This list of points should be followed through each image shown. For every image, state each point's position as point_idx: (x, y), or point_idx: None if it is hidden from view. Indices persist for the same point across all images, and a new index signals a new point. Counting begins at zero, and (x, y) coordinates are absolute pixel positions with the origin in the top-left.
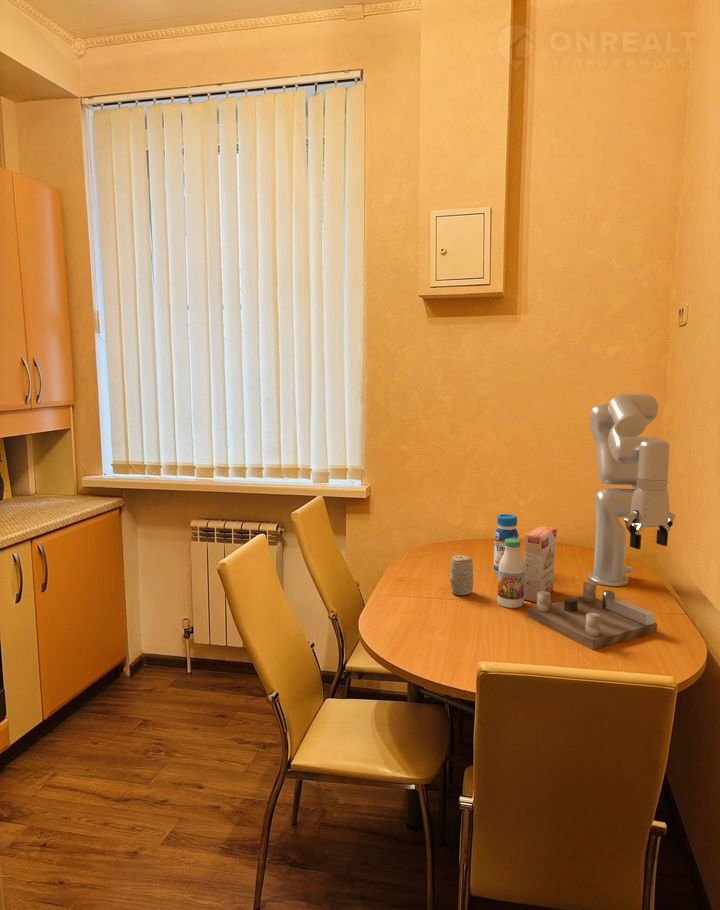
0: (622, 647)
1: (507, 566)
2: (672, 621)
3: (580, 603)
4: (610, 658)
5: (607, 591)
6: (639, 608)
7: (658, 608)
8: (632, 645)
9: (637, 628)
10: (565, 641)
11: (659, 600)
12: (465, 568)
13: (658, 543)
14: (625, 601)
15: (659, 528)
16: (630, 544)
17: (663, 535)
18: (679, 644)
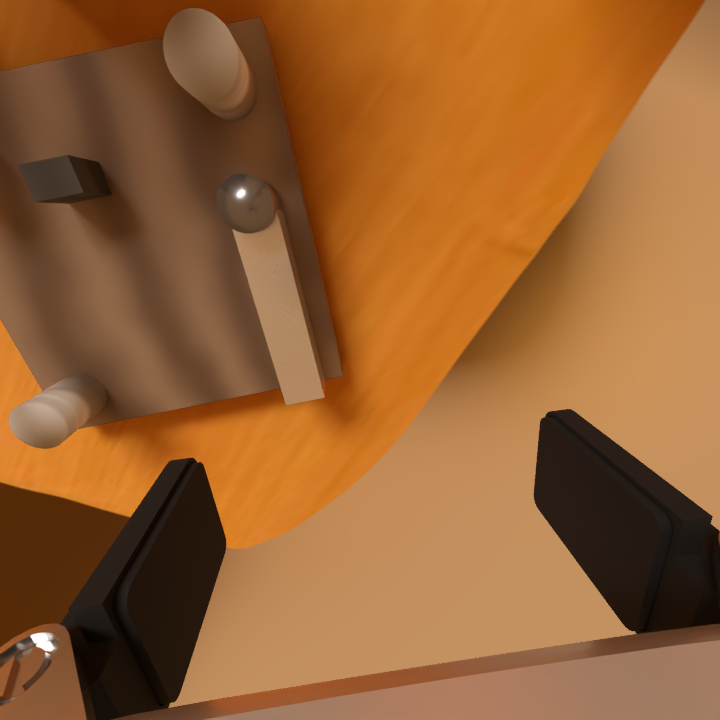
0: (181, 420)
1: None
2: (453, 308)
3: (163, 118)
4: (114, 461)
5: (244, 191)
6: (299, 352)
7: (506, 193)
8: (216, 416)
9: (255, 391)
10: (18, 352)
11: (584, 115)
12: None
13: (540, 442)
14: (293, 274)
15: (717, 564)
16: (163, 480)
17: (604, 567)
18: (346, 436)
